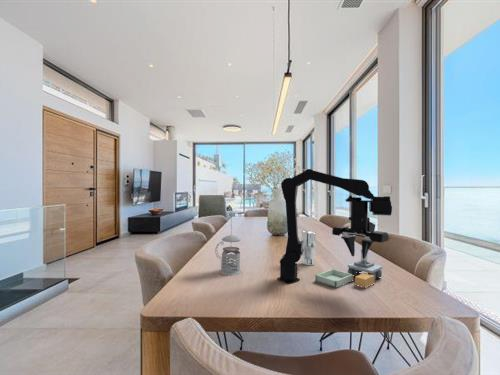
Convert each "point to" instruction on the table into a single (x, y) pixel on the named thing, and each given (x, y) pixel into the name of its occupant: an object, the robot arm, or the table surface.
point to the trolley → (365, 268)
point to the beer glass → (308, 247)
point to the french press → (230, 256)
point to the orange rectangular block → (364, 279)
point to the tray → (334, 278)
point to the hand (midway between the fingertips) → (358, 257)
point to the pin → (363, 261)
